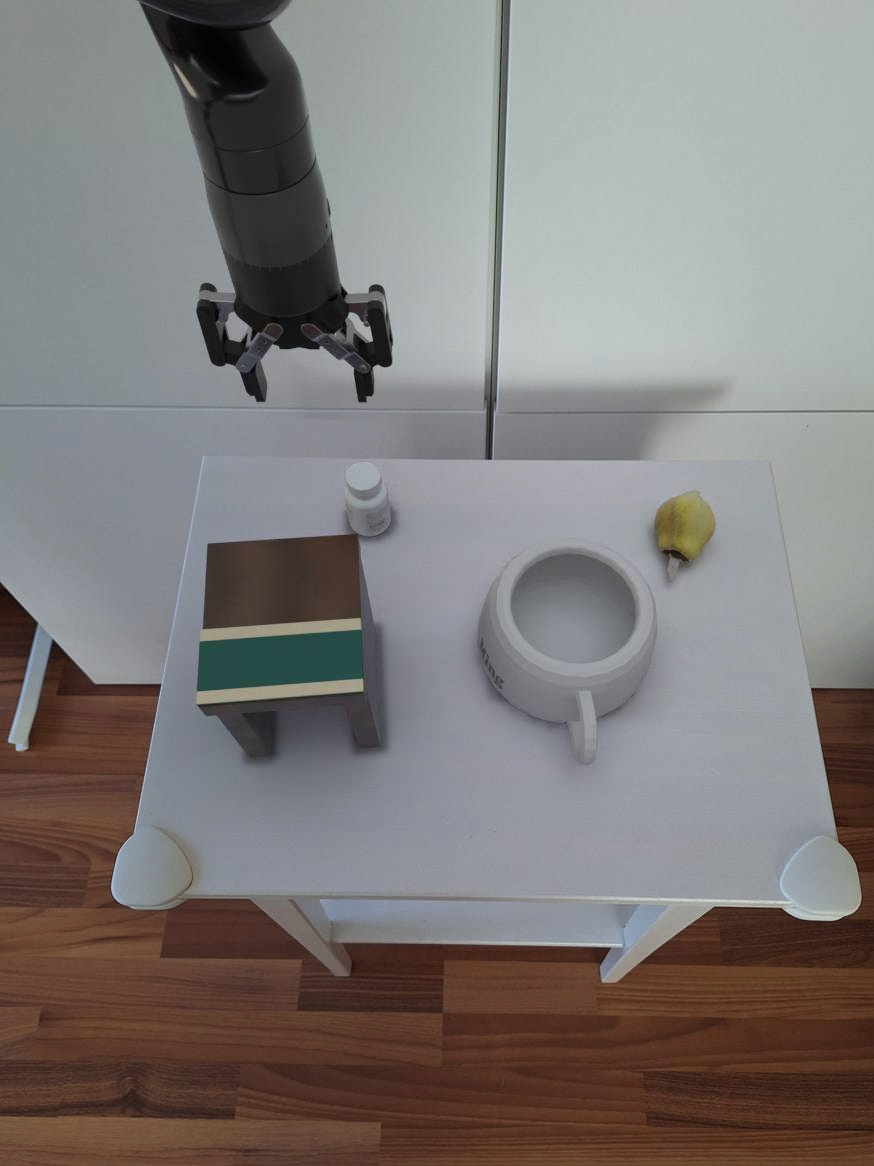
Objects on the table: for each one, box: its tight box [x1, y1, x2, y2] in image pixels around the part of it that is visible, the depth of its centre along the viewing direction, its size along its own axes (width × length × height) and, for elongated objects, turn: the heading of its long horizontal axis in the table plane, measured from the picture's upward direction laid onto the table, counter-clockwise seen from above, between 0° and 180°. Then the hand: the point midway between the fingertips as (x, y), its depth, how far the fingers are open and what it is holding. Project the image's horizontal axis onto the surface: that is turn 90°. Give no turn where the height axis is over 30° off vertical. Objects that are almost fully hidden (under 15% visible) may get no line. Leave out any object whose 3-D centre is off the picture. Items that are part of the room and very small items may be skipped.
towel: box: [195, 618, 364, 708], centre depth 59 cm, size 12×6×1 cm, turn 96°
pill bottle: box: [343, 461, 392, 537], centre depth 80 cm, size 4×4×8 cm
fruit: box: [653, 489, 717, 584], centre depth 81 cm, size 6×6×10 cm
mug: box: [476, 536, 658, 767], centre depth 72 cm, size 21×17×10 cm
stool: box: [198, 533, 382, 758], centre depth 68 cm, size 12×14×16 cm
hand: (313, 394), depth 68 cm, fingers open, 8 cm apart
